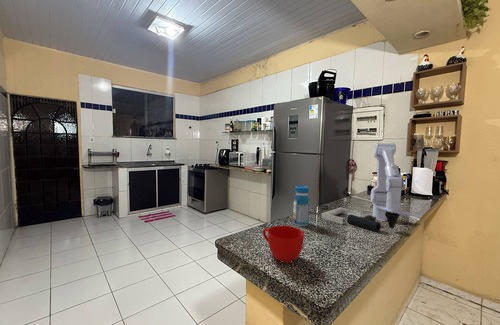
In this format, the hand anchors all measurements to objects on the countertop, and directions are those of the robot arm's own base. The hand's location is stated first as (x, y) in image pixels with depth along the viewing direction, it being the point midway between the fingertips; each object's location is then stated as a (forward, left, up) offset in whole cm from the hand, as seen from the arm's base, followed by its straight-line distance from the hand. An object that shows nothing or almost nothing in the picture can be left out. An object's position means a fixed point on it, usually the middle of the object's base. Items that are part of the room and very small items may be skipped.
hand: (391, 227), depth 111 cm
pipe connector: (+2, -11, -2) cm, 12 cm away
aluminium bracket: (0, -26, -2) cm, 26 cm away
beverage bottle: (+28, -34, -2) cm, 44 cm away
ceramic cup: (+63, -16, -2) cm, 65 cm away
